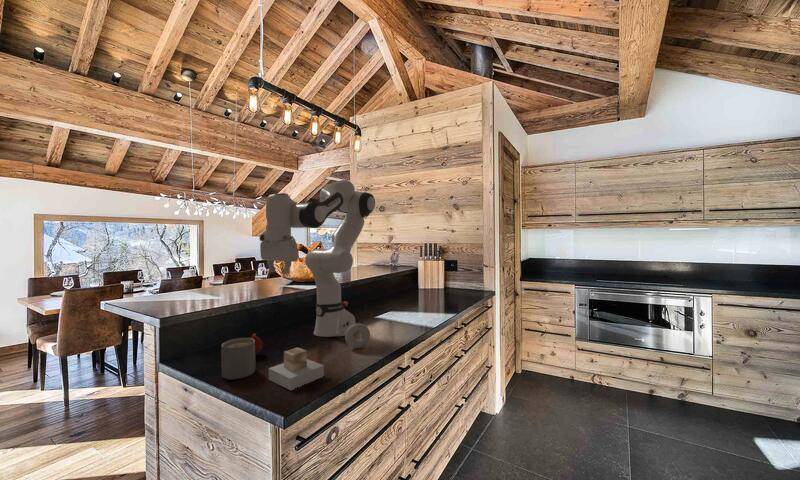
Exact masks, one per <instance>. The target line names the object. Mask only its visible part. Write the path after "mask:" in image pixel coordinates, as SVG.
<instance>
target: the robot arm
mask: <svg viewBox="0 0 800 480" xmlns="http://www.w3.org/2000/svg"><path fill="white" fill-rule="evenodd" d="M375 206H376V199H375V197H374V195H373V193H370V192H367V191H366V192H363V191H357V190H355V186H354V184H353V183H352V182H351V181H350V180H348V179H340V180H338V181H335V182H331V183H329V184H327V185H325V186H324V187H323V188H322V189H321V190H320V192H319V201H311V202H302V203H301V202H300V203H298V202H296V201H294V199H292V198H291V197H290V195H289V194H288V193H286V192H284V193H283V192H281V193H273V194H269V195H268V196H267V198H266V203H265V219H266V226H265V231H264V232H263V233H261V234H260V235H259V239H258V240H259V241H260V244H259V245H260V246H259V249H260V251H259V252H260V259H261V260H263V261H267V266H268V268H269V269H268V270H269V273H276V271H277V270H276V267H275V264H274V263H275V261H276V262H283V263H284V267H283V269H282V273H283V274H284V275H288V274H290V273H291V272H290V271H291V270H290V269H291V266H292V262H298V260H299V248H298V243H297V242H296V239H295V237H294V236H293V235H292V229H293V228H294V229H301V228H302V229H304V228H305V229H306V228H309V229H318V228H320V227H321V226H322V225H324V223H325V222H326V220H327V218H329V216H331V215H332V214H333V213H334V212H335V211H339V212H341V213H346V215H345V217H344V218H342V221H340V223H339V224H338V226H337V228H336V229H335V230H334V232H333V233H332V234H331V243H332V246H330V247H329V248H316V249H315V248H314V249H312V250H309V251H308V252H307V253H306V255H305V259H304V262H305V266H306V267H307V268H308V269H309V271H310V272H311V274H312V277H313V280H314V282H315V287H316V288H315V289H316V303H315V312H316V313H315V314H316V319H315V327H314V331H313V335H314V336H316V337H324V338H326V337H327V338H330V337H343V336H344V337H345V334H346V331H347V329H348V328H349V327H350V326H351V325H353V324H357V323H356V318H355V316H354V314H352V312H349V310H346V309H345V307H348V305H349V302H348V301H342V286H341V283H340V282H339V281H338V280H337V278H336V277H335V275H334V274H342V273H346V272H349V271H350V270H351V269H352V267H353V264H354V257H353V255H352V253H351V250H352V248H353V246H354V244H355V242H356V241H357V239H359V238H358V237H359V236H360V234H361V232H362V230H363V228H364V225H365V218H368V217H369V215H370V214H372V212H373V211H374V209H375Z"/></svg>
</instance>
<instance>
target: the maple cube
mask: <svg viewBox="0 0 800 480" xmlns="http://www.w3.org/2000/svg"><path fill="white" fill-rule="evenodd" d="M307 352H308V351H307V350H306V349H303V348H301V347H294V348H292V349H288V350H284V351H283V363H284V368H286V369H288V370H290V371H292V372H293V371H296V370H298V369H301V368H304V367H307V359H308V357H307V356H308V355H307Z"/></svg>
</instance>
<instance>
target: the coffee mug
mask: <svg viewBox="0 0 800 480" xmlns="http://www.w3.org/2000/svg"><path fill="white" fill-rule="evenodd" d="M220 348H221V349H220V350H221V351H220V355H221V377H222V378H223V379H225V380H237V379H238V380H239V379H243V378H245V377H248V376H251V375H253V374H254V373H255V372H256V355H255V340H254V339H252V338H251V337H239V338H238V337H237V338H233V339H229V340H227V341H224V342H223V343H221V347H220Z"/></svg>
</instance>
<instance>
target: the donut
mask: <svg viewBox="0 0 800 480" xmlns="http://www.w3.org/2000/svg"><path fill="white" fill-rule="evenodd" d="M357 333H360V334H361V337H360V338H359V339H356V338H355V337H354V336H355V334H357ZM344 338H345V342H346V344H347V345H348V346H349V347H350V348H352V349H357V348H358V349H362V348H364V347H365V346H366V345H368V343H369V342H370V338H371V332H370V329H369V327H368V326H366V324H363V323H360V322H358V323H356V324H353V325H351V326H350V327H349V328H348V329H347V331H346V334H345V335H344Z"/></svg>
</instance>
